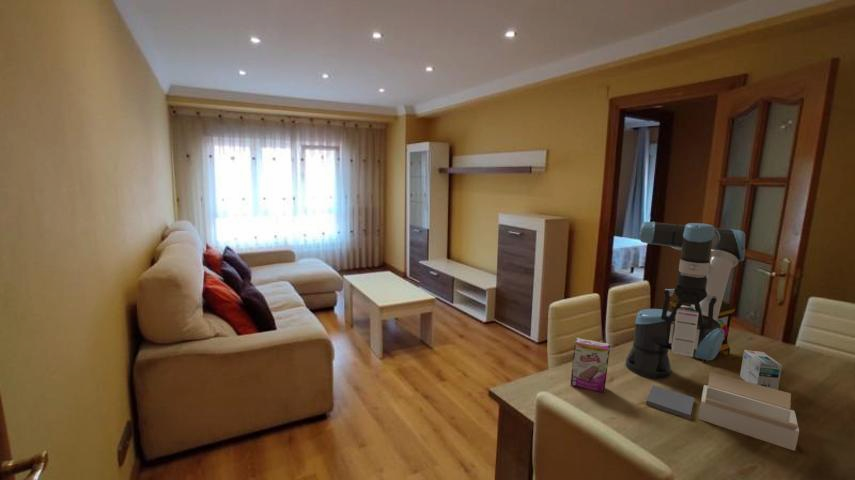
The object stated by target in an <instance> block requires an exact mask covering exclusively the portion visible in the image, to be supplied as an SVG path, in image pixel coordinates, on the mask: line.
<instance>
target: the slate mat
mask: <svg viewBox="0 0 855 480" xmlns="http://www.w3.org/2000/svg"><path fill="white" fill-rule="evenodd" d="M694 401H695V397H694V396H690V395H687V394H684V393H679V392H677V391H673V390H671V389H667V388H663V387H661V386H657V385H654V384H652V386H651V388H650V391H649V394H648V396H647V398H646V402H645V405H646V406H648V407H652V408H655V409H658V410H661V411H664V412H667V413H669V414H672V415H676V416H678V417H682V418H685V419H688V420H691V416H692V410H693V407H694Z"/></svg>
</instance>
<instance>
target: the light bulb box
mask: <svg viewBox="0 0 855 480" xmlns="http://www.w3.org/2000/svg"><path fill="white" fill-rule="evenodd" d="M782 370H783V364H781V363H780V362H779V361H777V360H775V359H774V358H772V357H771V356H769V355H768V354H767V353H766V352H764V351H757V350H750V349H749V350H747V349H744V350H743V356H742V361H741V367H740V373H739V377H740V378H741V379H742V380H743V381H746V382H750V383H754V384H757V385H761V386H765V387H769V388H772V389H776V390H779V387H780V386H779V385H780V380H781V374H782Z"/></svg>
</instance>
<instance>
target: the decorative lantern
mask: <svg viewBox="0 0 855 480" xmlns="http://www.w3.org/2000/svg"><path fill="white" fill-rule="evenodd" d="M678 300H679V298H678V297H676V298H673V299H672V300H670V301H669V303H670V305H671V309H672V310H671V312H672V311H673V309H674V307H675V305H676V303H677V302H678ZM682 305H684V306H691V304H689V303H682ZM735 311H736V307H734V305H732V304H731V303H730V302H727V301H725V300H722V304H721V307H720V311H719V315H718V319H717V320H718V322H719V323H720V324H721V329H723V330H724V339H723V342H722V345H721V348H720V350H719V352H718V354H720V353H723V354H724V355H725V356H728V355H729V354H730V350H731V348H730V347H731V346H730V345H729V342H728V338H729V337H728V336H729V331H730V324H731V319H732V314H733V313H734V312H735ZM675 316H676V315H675ZM674 318H675V317H674ZM702 362H703V364H706V363H707V362H708V360H705V359H702Z"/></svg>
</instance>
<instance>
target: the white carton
mask: <svg viewBox="0 0 855 480" xmlns="http://www.w3.org/2000/svg"><path fill="white" fill-rule="evenodd" d="M707 381H708V383H707V385H706V384H703V389H702V393H701V400H700V407H699V413H698V420H701V421H703V422H706V423H710V424H712V425H715V426H719V427H722V428H724V429H727V430H731V431H733V432H736V433H740V434H743V435H746V436H749V437H752V438H755V439H757V440H761V441H764V442H767V443H770V444H773V445H776V446H778V447H782V448H785V449H788V450H792V451H794V452H795V451H796V449H797V443H798V439H799V434H800V428H799V425H798V424H799V423H798V421H797V415H796V411H795V410H793V409H791V403H792V402H791V401H792V400H791V399H792V393H791V392H786V391H784V390H783V391H782V390H779V389H778V390H776V389H772V388H769V387H765V386H761V385H757V384H754V383H750V382H746V381H744V380H743V379H742V380H741V379H739V378H734V377H731V376H727V375H723V374H720V373H716V372H712V371H709V376H708V380H707Z"/></svg>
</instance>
